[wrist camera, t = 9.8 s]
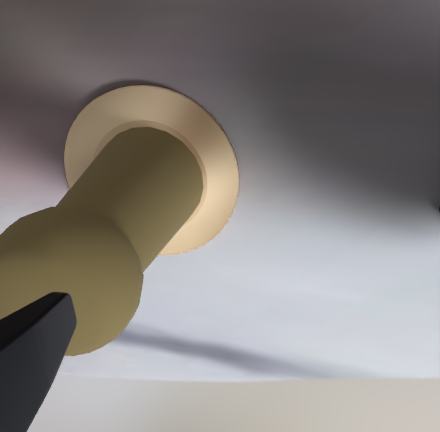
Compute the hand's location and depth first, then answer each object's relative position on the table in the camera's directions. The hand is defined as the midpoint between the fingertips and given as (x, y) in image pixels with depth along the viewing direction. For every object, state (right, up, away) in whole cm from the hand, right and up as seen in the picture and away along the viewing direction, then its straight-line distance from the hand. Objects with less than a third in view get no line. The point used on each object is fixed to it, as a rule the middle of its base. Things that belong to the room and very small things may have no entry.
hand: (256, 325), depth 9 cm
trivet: (-5, +5, +13) cm, 15 cm away
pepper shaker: (-5, +5, +13) cm, 14 cm away
